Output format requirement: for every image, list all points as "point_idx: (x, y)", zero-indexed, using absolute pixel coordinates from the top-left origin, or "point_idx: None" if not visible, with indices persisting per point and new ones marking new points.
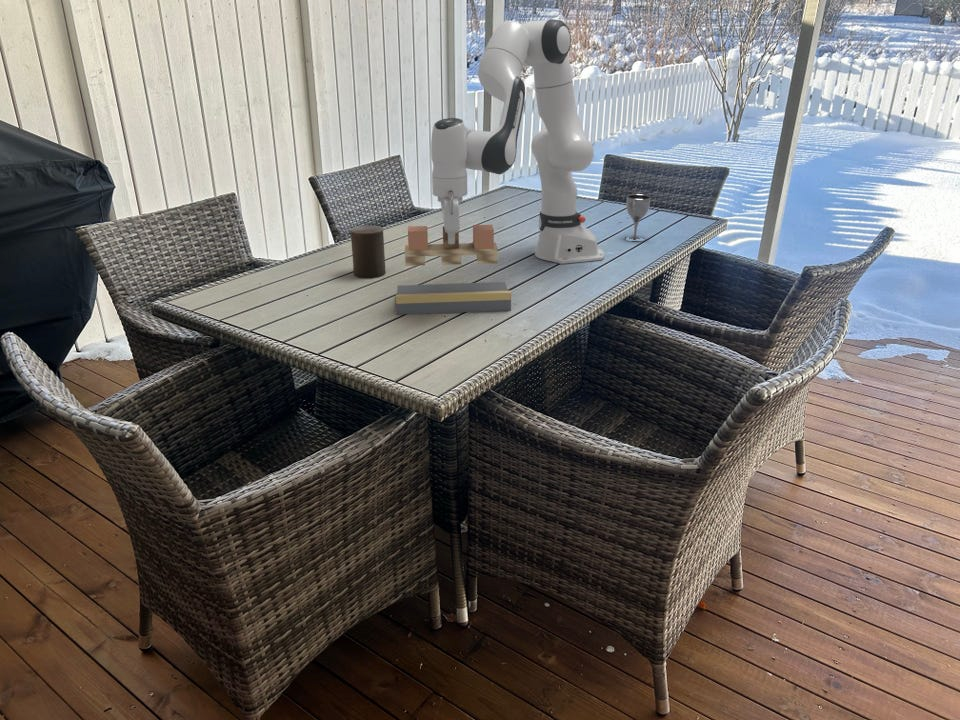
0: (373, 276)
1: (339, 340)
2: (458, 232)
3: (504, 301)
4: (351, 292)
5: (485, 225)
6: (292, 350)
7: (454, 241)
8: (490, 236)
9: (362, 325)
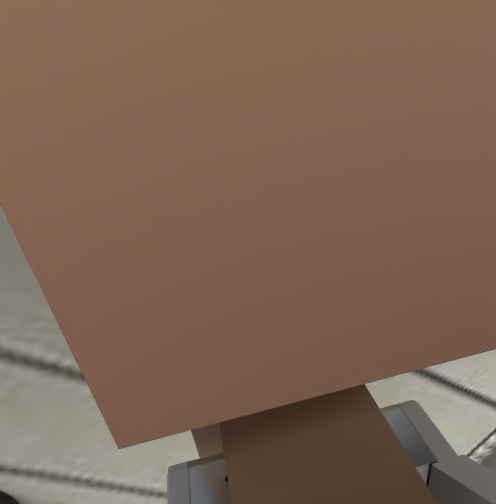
0: (6, 500)
1: (460, 406)
2: (426, 486)
3: None
4: (158, 491)
5: (95, 86)
6: (482, 452)
7: (426, 417)
8: None
9: (388, 396)
